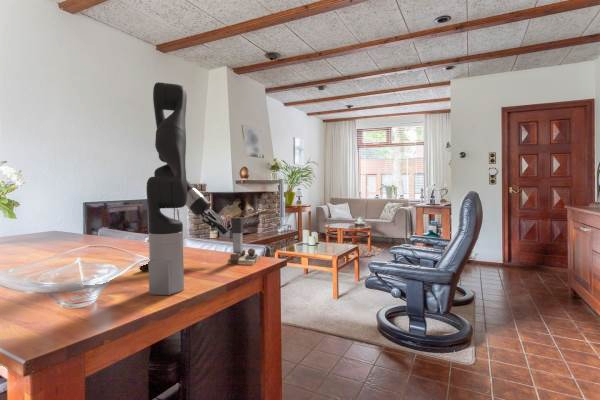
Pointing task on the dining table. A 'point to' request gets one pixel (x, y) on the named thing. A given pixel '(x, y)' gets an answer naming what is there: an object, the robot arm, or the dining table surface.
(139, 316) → the dining table surface
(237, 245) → the lever
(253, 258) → the cracker base
